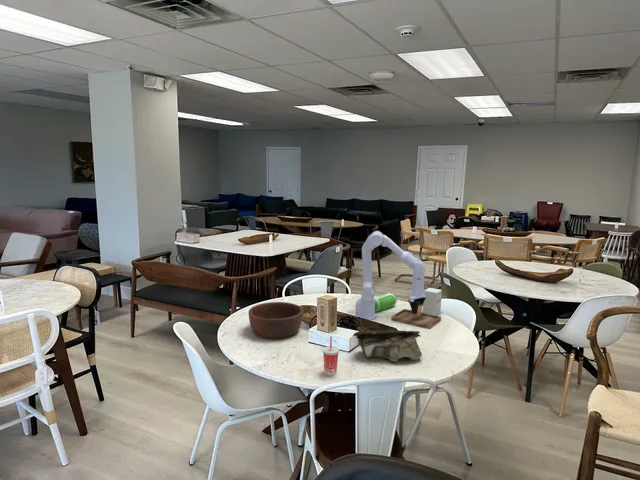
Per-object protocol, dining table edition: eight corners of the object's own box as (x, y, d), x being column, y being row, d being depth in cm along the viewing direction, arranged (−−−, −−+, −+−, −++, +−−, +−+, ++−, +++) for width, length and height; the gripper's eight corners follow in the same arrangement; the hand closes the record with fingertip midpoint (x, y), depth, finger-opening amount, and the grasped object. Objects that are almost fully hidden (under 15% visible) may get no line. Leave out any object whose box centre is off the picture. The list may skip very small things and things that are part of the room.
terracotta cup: (409, 315, 208) (410, 304, 208) (413, 312, 213) (413, 302, 212) (419, 317, 206) (420, 306, 205) (422, 314, 210) (423, 304, 209)
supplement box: (435, 316, 216) (436, 292, 214) (422, 313, 220) (423, 290, 218) (440, 312, 221) (442, 289, 219) (427, 309, 226) (428, 287, 224)
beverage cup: (337, 377, 151) (338, 340, 148) (320, 375, 152) (321, 339, 149) (339, 369, 157) (340, 334, 154) (323, 367, 158) (324, 332, 155)
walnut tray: (391, 320, 209) (391, 316, 209) (404, 312, 221) (404, 308, 221) (429, 329, 198) (429, 325, 197) (440, 320, 210) (441, 316, 209)
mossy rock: (353, 368, 168) (354, 354, 156) (351, 338, 176) (352, 322, 163) (423, 367, 167) (429, 353, 155) (418, 337, 175) (424, 321, 163)
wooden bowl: (312, 326, 199) (312, 306, 198) (286, 346, 177) (286, 323, 175) (267, 318, 210) (267, 299, 208) (237, 336, 187) (237, 314, 186)
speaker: (377, 314, 218) (377, 300, 217) (366, 310, 223) (366, 297, 222) (397, 307, 230) (397, 294, 229) (386, 304, 235) (387, 291, 234)
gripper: (419, 290, 199) (418, 317, 201) (431, 284, 210) (429, 310, 212) (406, 288, 203) (404, 314, 205) (417, 281, 214) (416, 307, 216)
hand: (416, 312), depth 209 cm, fingers closed on terracotta cup, 5 cm apart
